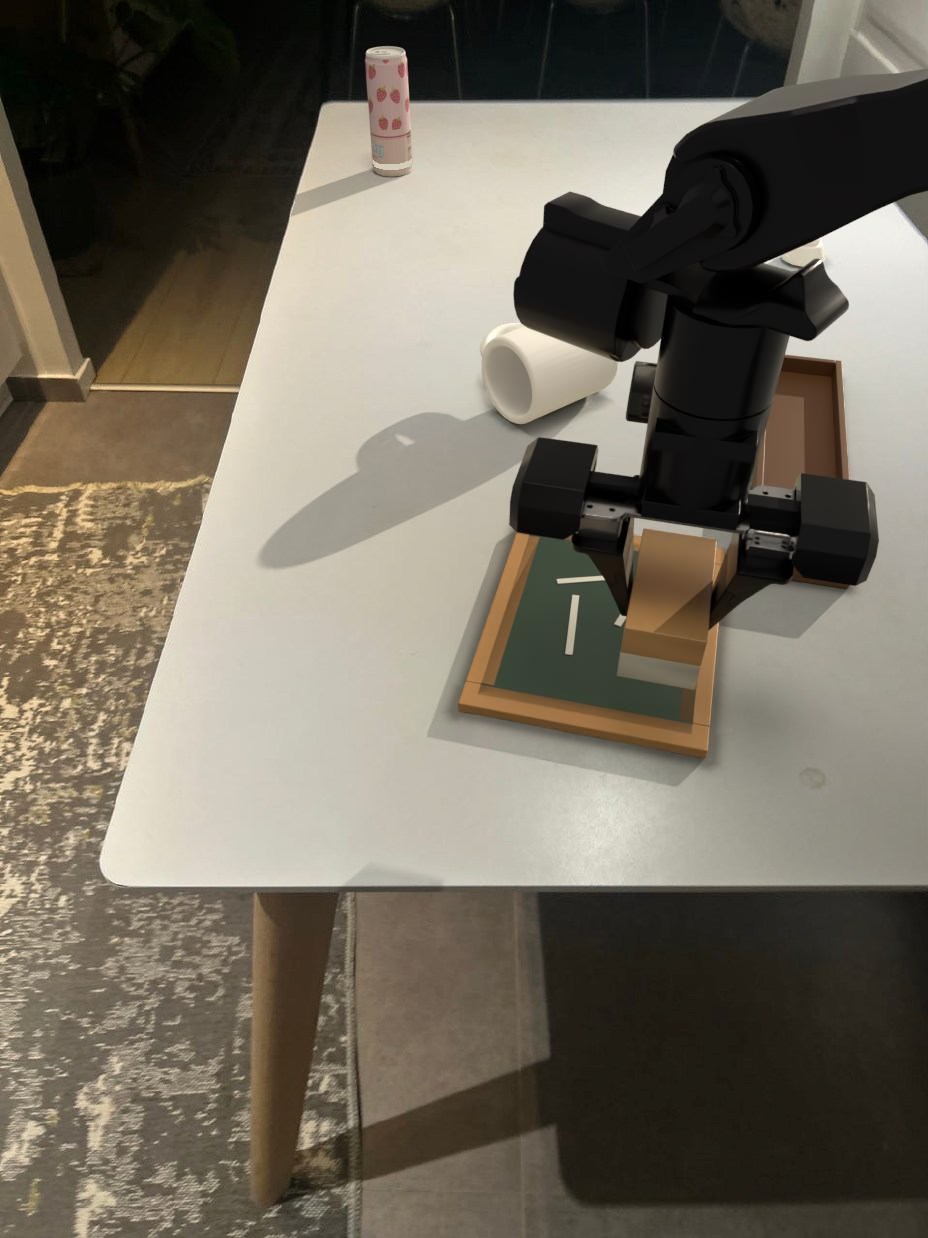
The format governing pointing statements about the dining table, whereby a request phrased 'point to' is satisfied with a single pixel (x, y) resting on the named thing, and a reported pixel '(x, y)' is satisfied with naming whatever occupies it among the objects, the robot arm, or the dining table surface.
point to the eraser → (668, 609)
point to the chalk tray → (805, 429)
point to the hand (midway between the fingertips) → (665, 618)
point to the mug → (538, 372)
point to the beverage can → (389, 108)
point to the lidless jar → (805, 254)
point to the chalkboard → (577, 657)
